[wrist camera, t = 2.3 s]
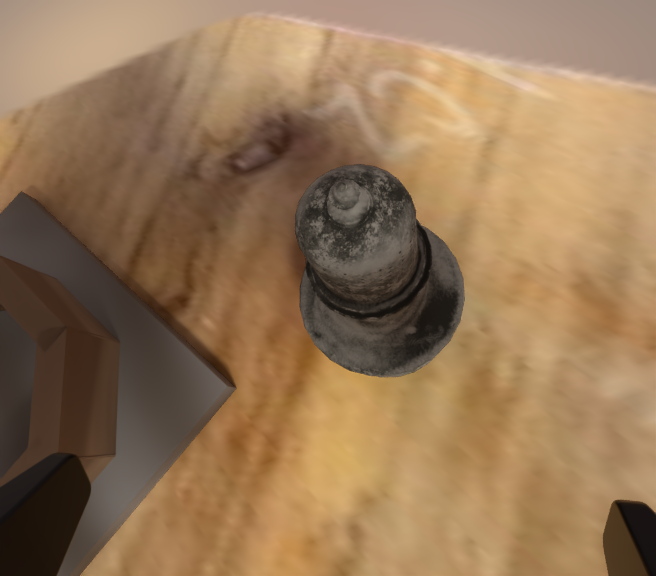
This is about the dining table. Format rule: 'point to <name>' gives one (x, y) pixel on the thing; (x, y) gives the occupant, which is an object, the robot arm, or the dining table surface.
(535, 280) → the dining table surface
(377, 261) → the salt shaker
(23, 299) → the socket
